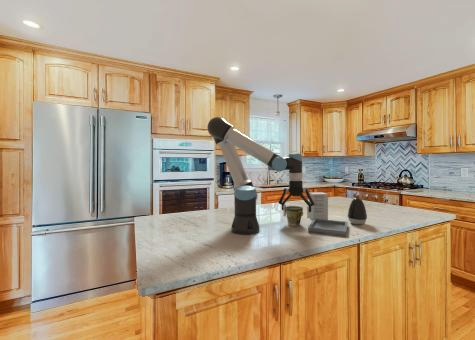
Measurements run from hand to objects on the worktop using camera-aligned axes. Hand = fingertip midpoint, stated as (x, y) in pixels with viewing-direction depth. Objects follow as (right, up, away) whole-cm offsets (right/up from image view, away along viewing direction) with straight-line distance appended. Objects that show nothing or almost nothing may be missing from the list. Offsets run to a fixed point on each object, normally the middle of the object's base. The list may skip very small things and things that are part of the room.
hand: (296, 216), depth 140 cm
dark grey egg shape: (+36, -5, +2) cm, 37 cm away
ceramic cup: (0, -5, 0) cm, 5 cm away
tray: (+15, -5, -9) cm, 18 cm away
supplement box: (+17, -4, +13) cm, 22 cm away
